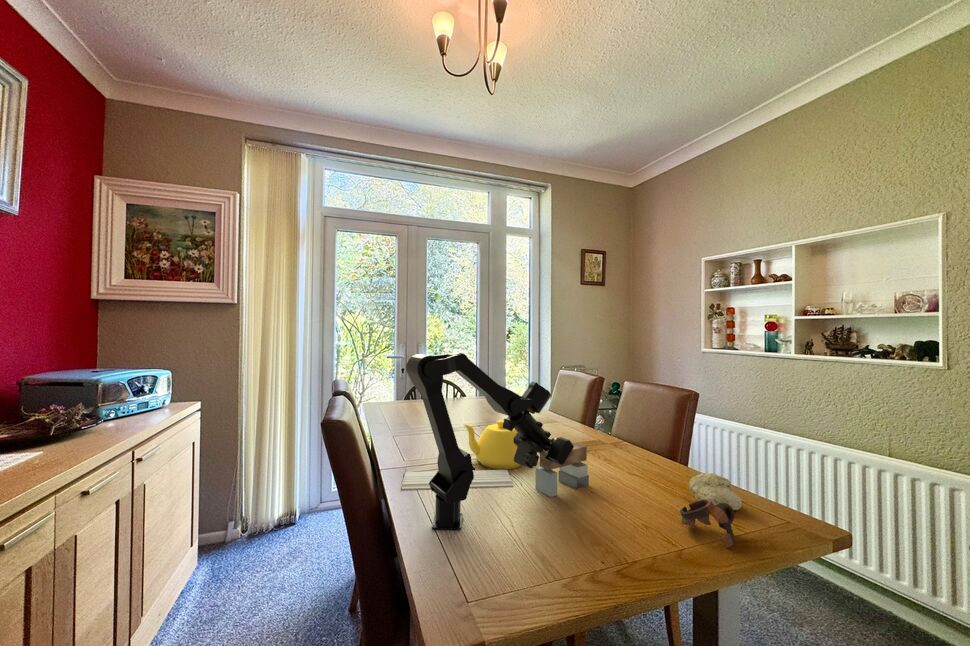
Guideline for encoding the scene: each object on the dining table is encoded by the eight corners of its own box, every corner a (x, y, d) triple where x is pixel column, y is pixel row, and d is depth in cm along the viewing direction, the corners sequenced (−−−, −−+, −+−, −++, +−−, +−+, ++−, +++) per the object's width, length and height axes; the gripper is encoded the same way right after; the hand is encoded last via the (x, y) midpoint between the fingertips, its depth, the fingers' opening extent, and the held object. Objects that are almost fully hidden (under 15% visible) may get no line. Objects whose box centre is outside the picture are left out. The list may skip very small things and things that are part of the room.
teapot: (467, 474, 112) (467, 429, 113) (457, 455, 130) (457, 416, 130) (543, 468, 118) (543, 425, 119) (524, 450, 136) (524, 413, 136)
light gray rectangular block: (550, 497, 97) (550, 474, 98) (535, 488, 102) (535, 467, 102) (557, 494, 99) (557, 472, 99) (541, 487, 104) (542, 465, 104)
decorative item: (675, 484, 97) (693, 461, 102) (687, 512, 98) (704, 489, 103) (723, 495, 87) (740, 470, 92) (736, 527, 87) (752, 501, 93)
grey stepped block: (576, 489, 102) (576, 467, 102) (558, 481, 108) (558, 460, 108) (588, 485, 105) (588, 464, 105) (570, 477, 111) (570, 457, 111)
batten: (548, 470, 99) (548, 455, 99) (539, 466, 102) (539, 451, 102) (586, 460, 107) (586, 446, 107) (577, 456, 110) (577, 443, 110)
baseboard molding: (513, 490, 102) (506, 474, 114) (513, 480, 102) (507, 465, 114) (400, 494, 99) (405, 477, 111) (400, 483, 99) (405, 467, 111)
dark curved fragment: (722, 557, 73) (698, 514, 76) (687, 553, 81) (666, 514, 84) (757, 528, 78) (733, 489, 81) (721, 528, 86) (700, 492, 89)
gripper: (489, 442, 102) (520, 475, 107) (534, 463, 86) (567, 499, 92) (512, 411, 106) (540, 443, 112) (558, 425, 91) (588, 461, 97)
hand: (557, 461), depth 103 cm, fingers closed on batten, 4 cm apart
